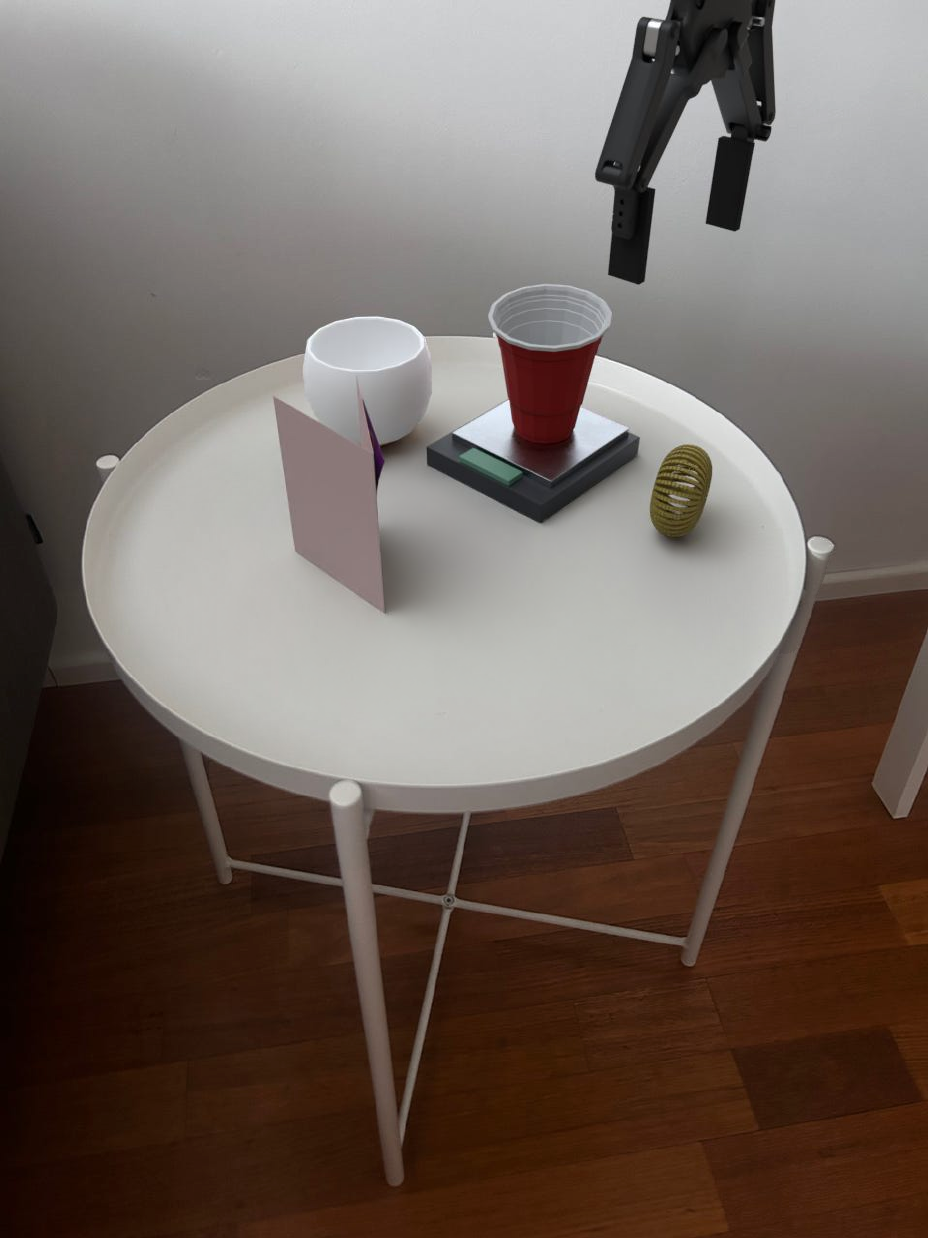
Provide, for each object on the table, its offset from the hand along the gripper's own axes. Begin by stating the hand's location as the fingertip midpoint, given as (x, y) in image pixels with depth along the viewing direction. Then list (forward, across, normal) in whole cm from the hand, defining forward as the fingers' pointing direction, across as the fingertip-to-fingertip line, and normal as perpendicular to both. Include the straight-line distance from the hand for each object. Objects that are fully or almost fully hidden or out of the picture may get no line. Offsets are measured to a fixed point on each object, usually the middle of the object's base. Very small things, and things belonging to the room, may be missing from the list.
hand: (676, 251), depth 77 cm
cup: (+23, +8, -27) cm, 36 cm away
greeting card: (+23, +26, -13) cm, 37 cm away
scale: (+23, +2, -12) cm, 26 cm away
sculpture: (+23, +2, +5) cm, 24 cm away
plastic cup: (+20, 0, -12) cm, 23 cm away
